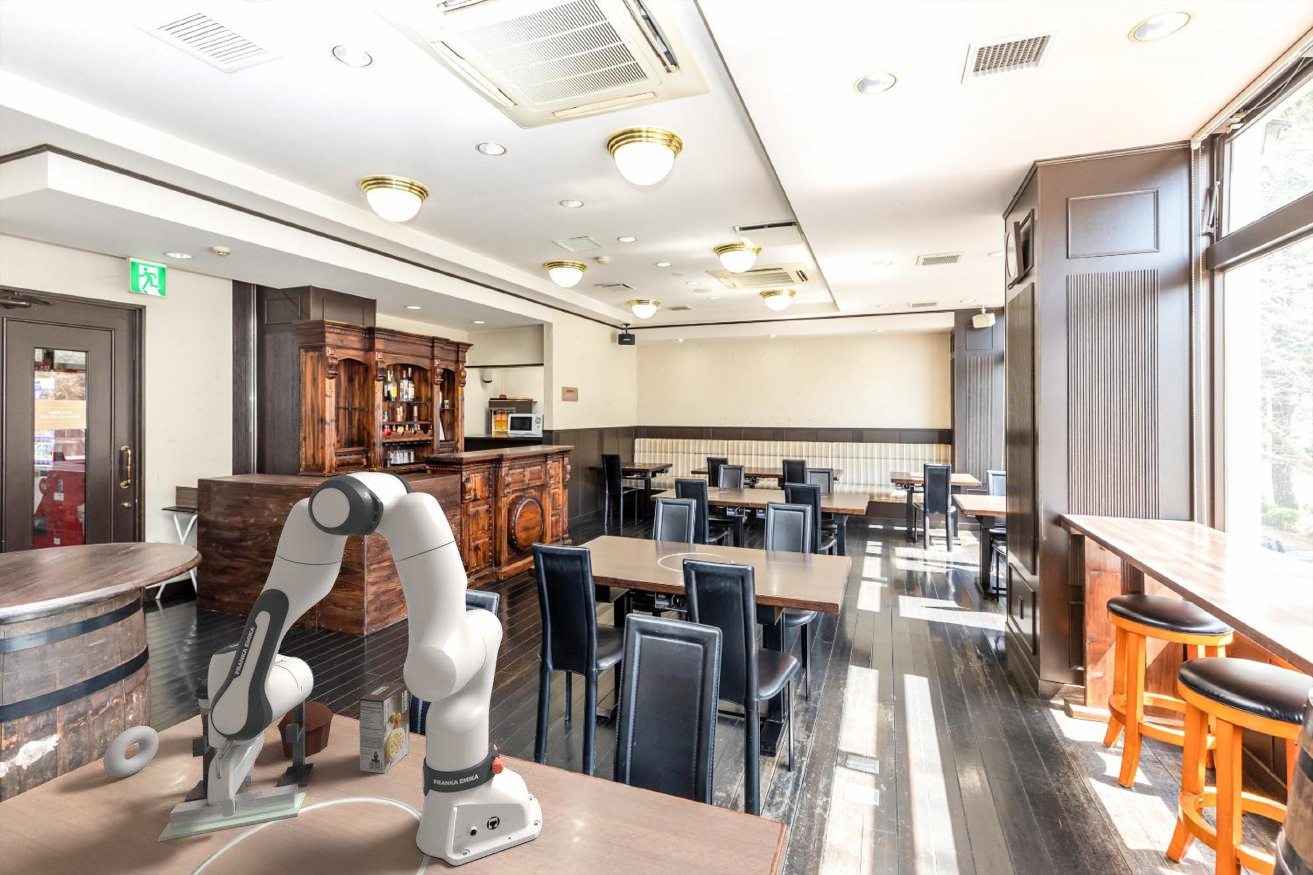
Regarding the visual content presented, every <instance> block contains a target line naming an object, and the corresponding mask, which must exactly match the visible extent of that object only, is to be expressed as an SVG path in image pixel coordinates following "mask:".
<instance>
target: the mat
mask: <svg viewBox="0 0 1313 875" xmlns="http://www.w3.org/2000/svg"><path fill="white" fill-rule="evenodd" d="M306 795H307V792H301V793H299V792H298V800H297V802H296V805H295V807H294V808H290V809H284V810H279V811H273V812H267V813H262V814H256V815H250V816H245V817H239V818H233V819H228V820H222V821H216V822H211V823H205V824H199V825H193V826H188V827H182V828H176V829H171V830H170V822H169V823H168V824H167V825H166V826H165V828H164V829H163V831H162V832H161V833H160V835H159V837H158V842H162V841H165V840H166V841H167V840H173V839H177V838H184V837H189V836H190V837H191V836H195V835H199V834H207V833H210V832H211V833H212V832H217V831H223V830H227V829H232V828H233V829H234V828H238V827H239V828H240V827H243V826H251V825H254V824H255V825H257V824H260V823H266V822H272V821H277V820H283V819H288V818H289V819H290V818H294V817H298V816H299V814H300V811H301V808H302V806H303V804H304V801H305V799H306Z"/></svg>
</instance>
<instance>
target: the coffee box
mask: <svg viewBox="0 0 1313 875" xmlns="http://www.w3.org/2000/svg"><path fill="white" fill-rule="evenodd" d="M358 699H359V702H358V703H359V706H358V708H359V709H358V710H359V714H358V715H359V770H360V771H363V772H372V773H379V774H386V773H387V772H389V771H390V770H391V768H393V767H394V766H395V765H396V764H397V763H398V762H400V761H401V760H402V759H403V758H404V757H405V756H406V755H408V754H409V753H410V691H409V690H408V688H407V686H406V684H405V682H404V683H401V682H390V681H389V682H388V681H384V682H382V684H380V685H378V686H376V687H375V688H373V689H371V690H370V691H369V692H367V693H366V694H364V695H363V696H361V697H359V698H358Z"/></svg>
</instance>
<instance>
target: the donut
mask: <svg viewBox="0 0 1313 875" xmlns="http://www.w3.org/2000/svg"><path fill="white" fill-rule="evenodd" d="M136 743H137V744H139V746H138V750H137V751H136V753H135V754H134V755H133V756H131V757H130V758H128V759H126V757H125V755H126V752H127V750H128V749H129V748H130V747H131V746H132V745H134V744H136ZM159 743H160V739H159V734H158V732H157V731H156V730H155V729H154V728H153V727H150V726H149V725H137V726H133V727H130V728H128V729H126V730H124V731H122V732H120V734H118V735H117V736H116V737H114V739H113V740H112V741H111V742H110V744H108V746H107V748H106V750H105V752H104V754H103V759H102V763H103V764H102V765H103V767H104V770H105V771H106V772H107V774H109V775H110V776H112V777H115V778H126V777H129V776H132V775H134V774H136V773H138V772H140V771H142V770H143V769H144V768H145V767H146V766H147V765H149V764H150V763H151V761H152V760H153V758H154V757H155V756H156V753H157V751H158V748H159V745H160V744H159Z"/></svg>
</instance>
